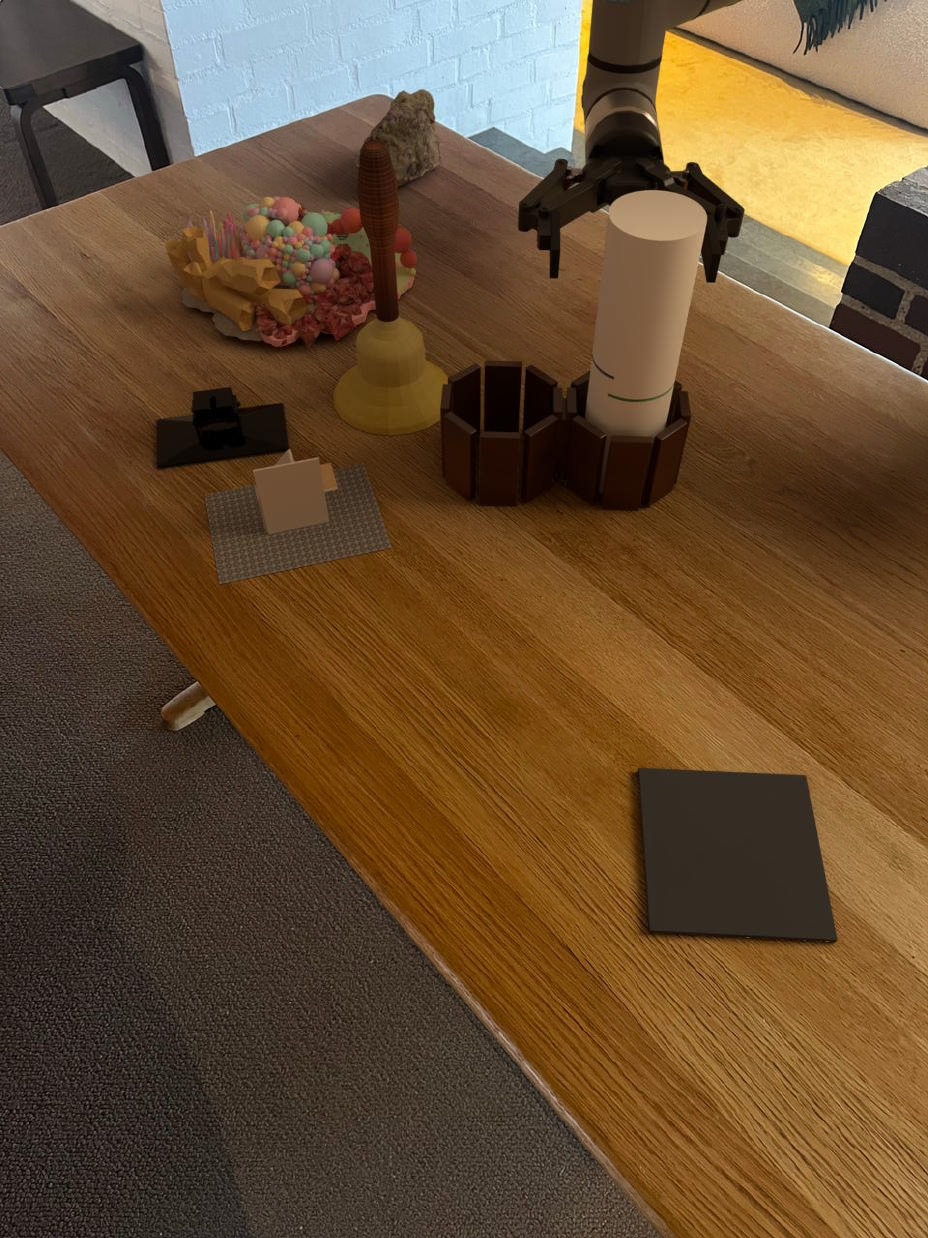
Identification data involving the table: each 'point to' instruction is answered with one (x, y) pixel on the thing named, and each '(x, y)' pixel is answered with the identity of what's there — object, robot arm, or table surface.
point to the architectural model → (294, 519)
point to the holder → (549, 441)
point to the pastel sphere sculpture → (284, 272)
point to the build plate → (220, 431)
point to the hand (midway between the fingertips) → (634, 266)
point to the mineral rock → (409, 135)
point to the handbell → (386, 324)
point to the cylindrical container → (642, 312)
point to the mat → (732, 856)
